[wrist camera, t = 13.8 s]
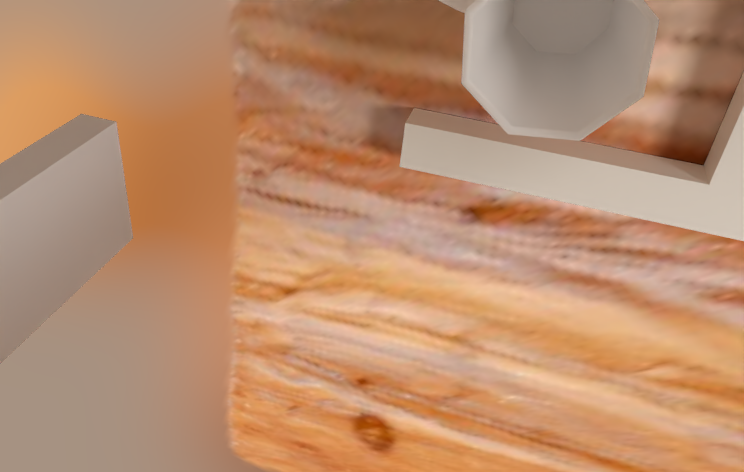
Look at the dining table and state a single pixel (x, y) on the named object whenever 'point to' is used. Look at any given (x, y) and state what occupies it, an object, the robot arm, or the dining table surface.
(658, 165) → the flat u-shaped bracket
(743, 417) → the dining table surface
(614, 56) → the cup
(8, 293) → the robot arm
